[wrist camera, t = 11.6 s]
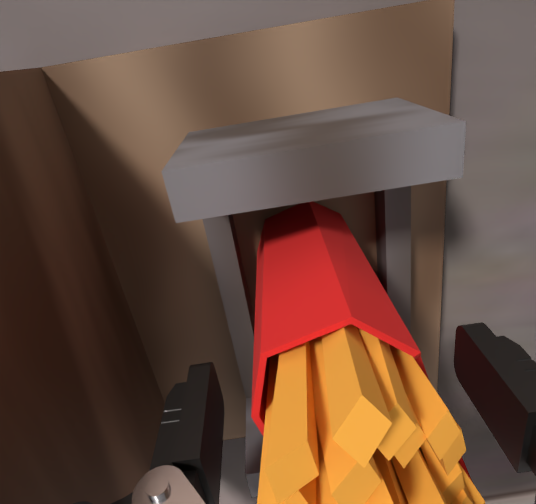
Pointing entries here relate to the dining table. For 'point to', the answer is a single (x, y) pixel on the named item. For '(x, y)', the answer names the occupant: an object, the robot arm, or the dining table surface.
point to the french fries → (342, 379)
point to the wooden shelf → (200, 223)
